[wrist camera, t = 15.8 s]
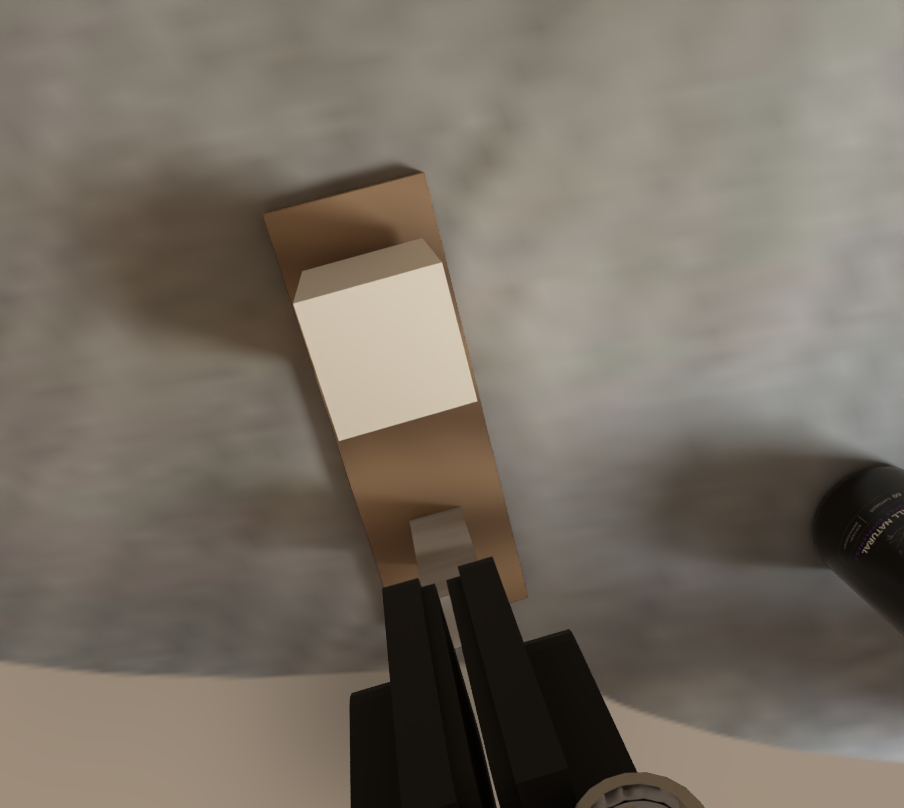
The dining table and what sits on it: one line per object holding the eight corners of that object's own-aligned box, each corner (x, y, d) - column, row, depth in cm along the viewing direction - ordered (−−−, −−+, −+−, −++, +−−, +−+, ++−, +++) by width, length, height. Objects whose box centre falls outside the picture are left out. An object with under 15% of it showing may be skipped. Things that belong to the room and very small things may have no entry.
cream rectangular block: (422, 237, 32) (441, 262, 25) (452, 352, 33) (477, 401, 27) (302, 271, 31) (292, 303, 25) (339, 384, 33) (339, 440, 27)
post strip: (523, 586, 40) (565, 688, 33) (398, 623, 40) (411, 734, 33) (422, 171, 33) (446, 181, 25) (264, 212, 32) (242, 235, 25)
